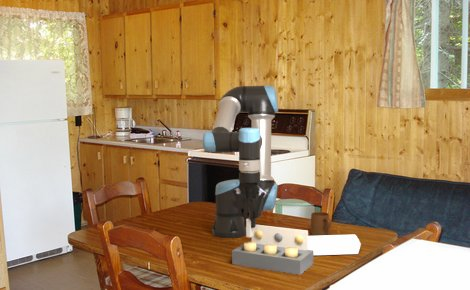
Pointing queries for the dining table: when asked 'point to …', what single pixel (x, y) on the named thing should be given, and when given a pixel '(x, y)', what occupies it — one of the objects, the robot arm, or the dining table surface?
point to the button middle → (270, 249)
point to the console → (282, 241)
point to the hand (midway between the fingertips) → (249, 236)
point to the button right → (291, 252)
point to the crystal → (334, 244)
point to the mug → (320, 224)
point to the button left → (250, 246)
